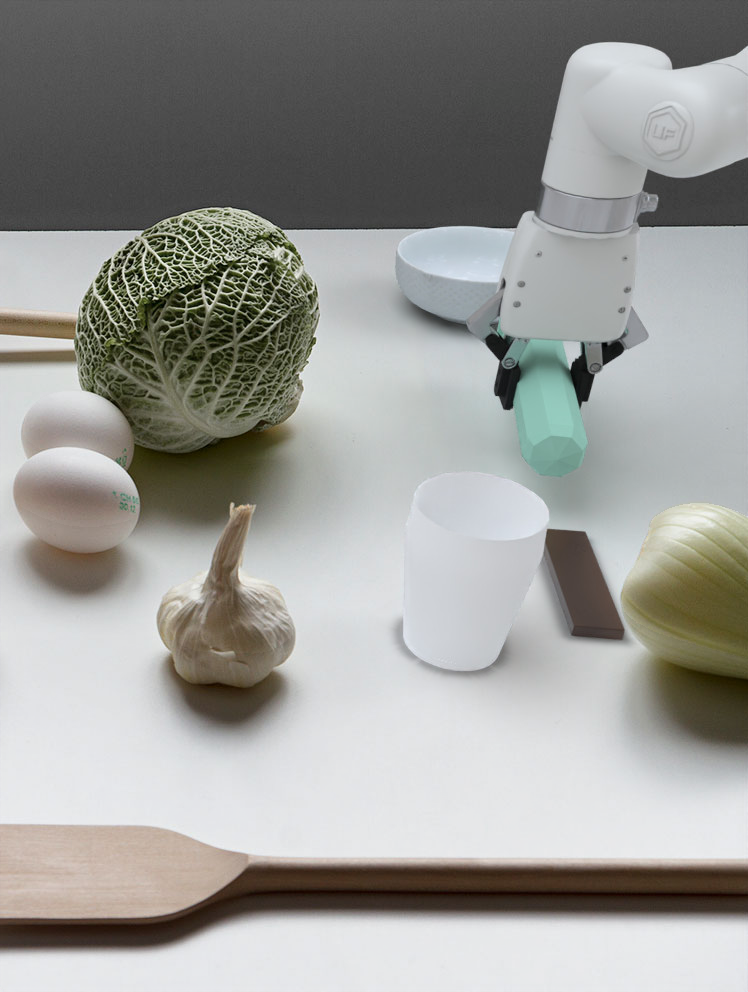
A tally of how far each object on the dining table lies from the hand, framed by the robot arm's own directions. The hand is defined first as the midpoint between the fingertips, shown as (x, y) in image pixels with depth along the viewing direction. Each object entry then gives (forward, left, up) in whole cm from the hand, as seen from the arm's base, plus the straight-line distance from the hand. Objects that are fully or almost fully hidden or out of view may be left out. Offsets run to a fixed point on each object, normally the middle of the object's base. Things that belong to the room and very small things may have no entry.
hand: (538, 403), depth 114 cm
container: (0, 0, -1) cm, 1 cm away
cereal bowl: (+1, -31, -5) cm, 31 cm away
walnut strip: (0, +21, -5) cm, 22 cm away
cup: (+10, +30, -5) cm, 32 cm away
